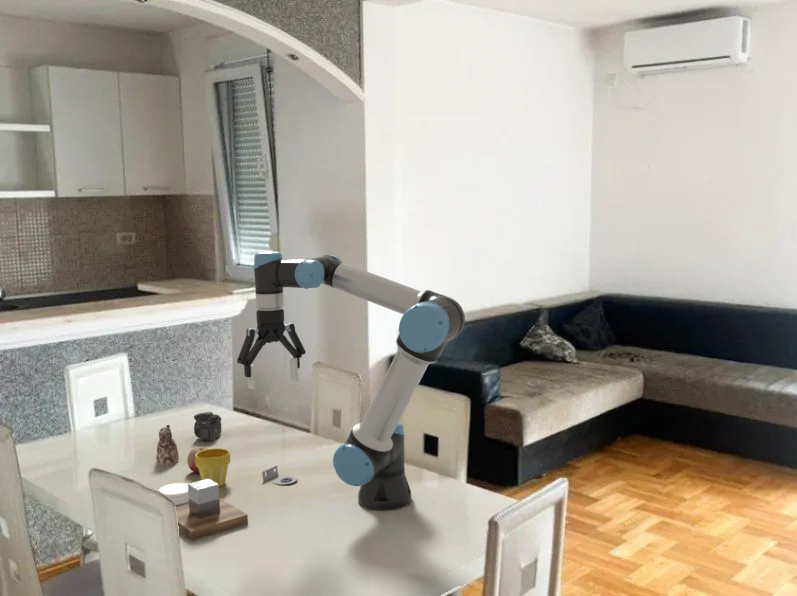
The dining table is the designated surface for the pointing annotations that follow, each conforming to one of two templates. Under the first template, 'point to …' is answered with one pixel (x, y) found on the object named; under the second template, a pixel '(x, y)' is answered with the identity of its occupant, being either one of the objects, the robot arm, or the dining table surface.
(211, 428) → the camera
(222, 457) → the plant pot
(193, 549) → the dining table surface
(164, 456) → the figurine
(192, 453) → the fruit
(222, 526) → the cutting board
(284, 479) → the bracket
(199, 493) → the block
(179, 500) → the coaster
